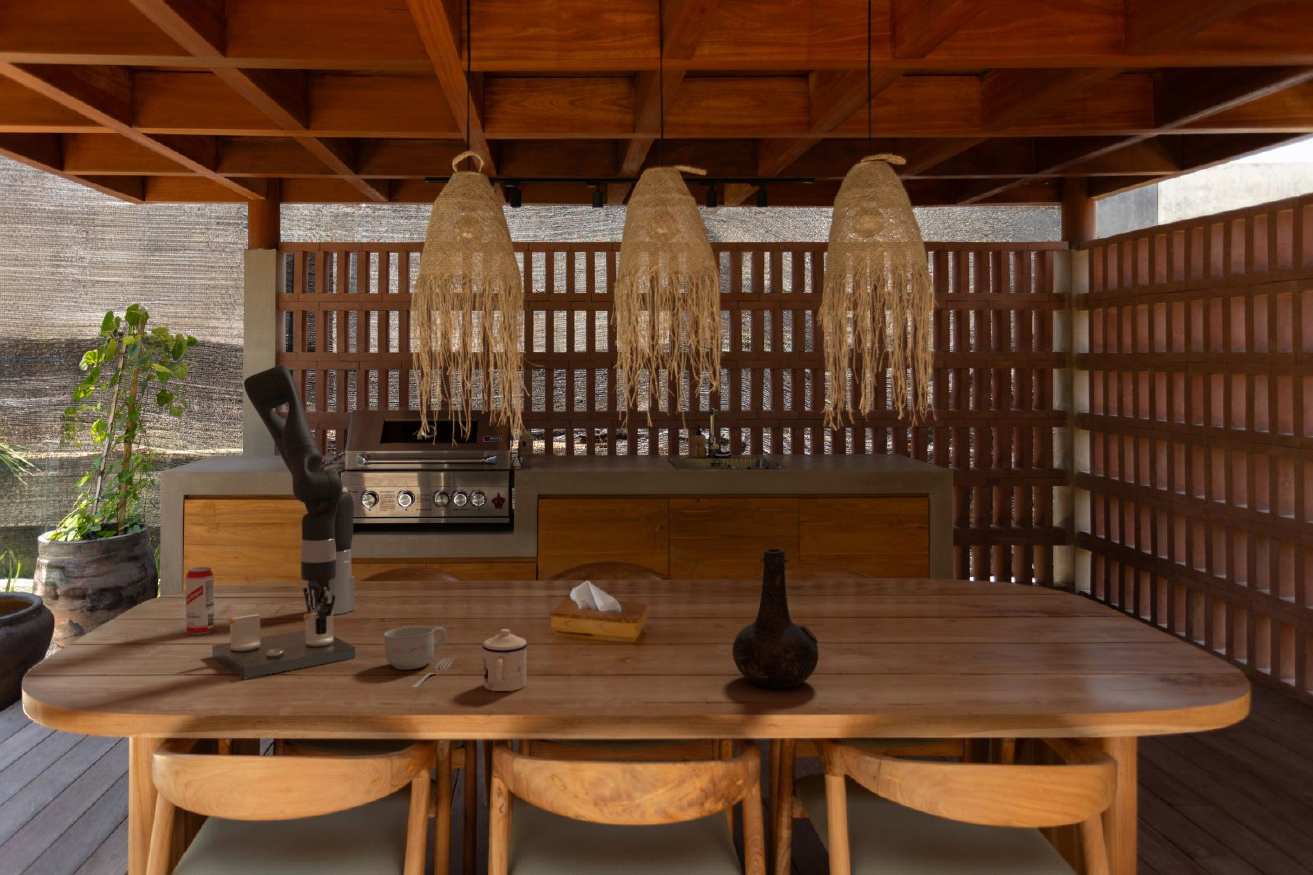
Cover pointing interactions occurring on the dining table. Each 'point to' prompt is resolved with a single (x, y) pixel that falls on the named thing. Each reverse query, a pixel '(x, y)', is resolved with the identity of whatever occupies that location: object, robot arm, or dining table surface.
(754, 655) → the glass bottle
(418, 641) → the teacup
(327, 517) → the robot arm
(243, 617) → the knob
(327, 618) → the knob
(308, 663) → the levelling base
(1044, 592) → the dining table surface
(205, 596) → the beer can
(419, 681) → the fork
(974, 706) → the dining table surface
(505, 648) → the teacup with lid
